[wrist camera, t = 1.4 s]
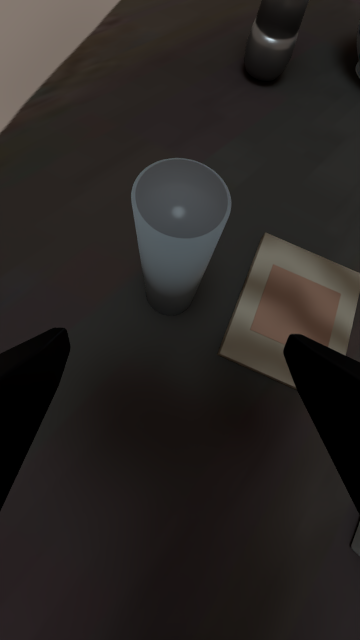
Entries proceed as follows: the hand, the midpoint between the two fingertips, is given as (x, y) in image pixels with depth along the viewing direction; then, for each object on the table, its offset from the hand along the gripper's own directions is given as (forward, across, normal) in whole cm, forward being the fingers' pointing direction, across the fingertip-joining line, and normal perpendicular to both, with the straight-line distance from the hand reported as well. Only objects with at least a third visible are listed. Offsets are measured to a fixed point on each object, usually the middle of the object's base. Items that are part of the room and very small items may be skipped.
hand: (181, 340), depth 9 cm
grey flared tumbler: (+14, 0, +4) cm, 15 cm away
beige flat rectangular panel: (+13, -13, +6) cm, 20 cm away
